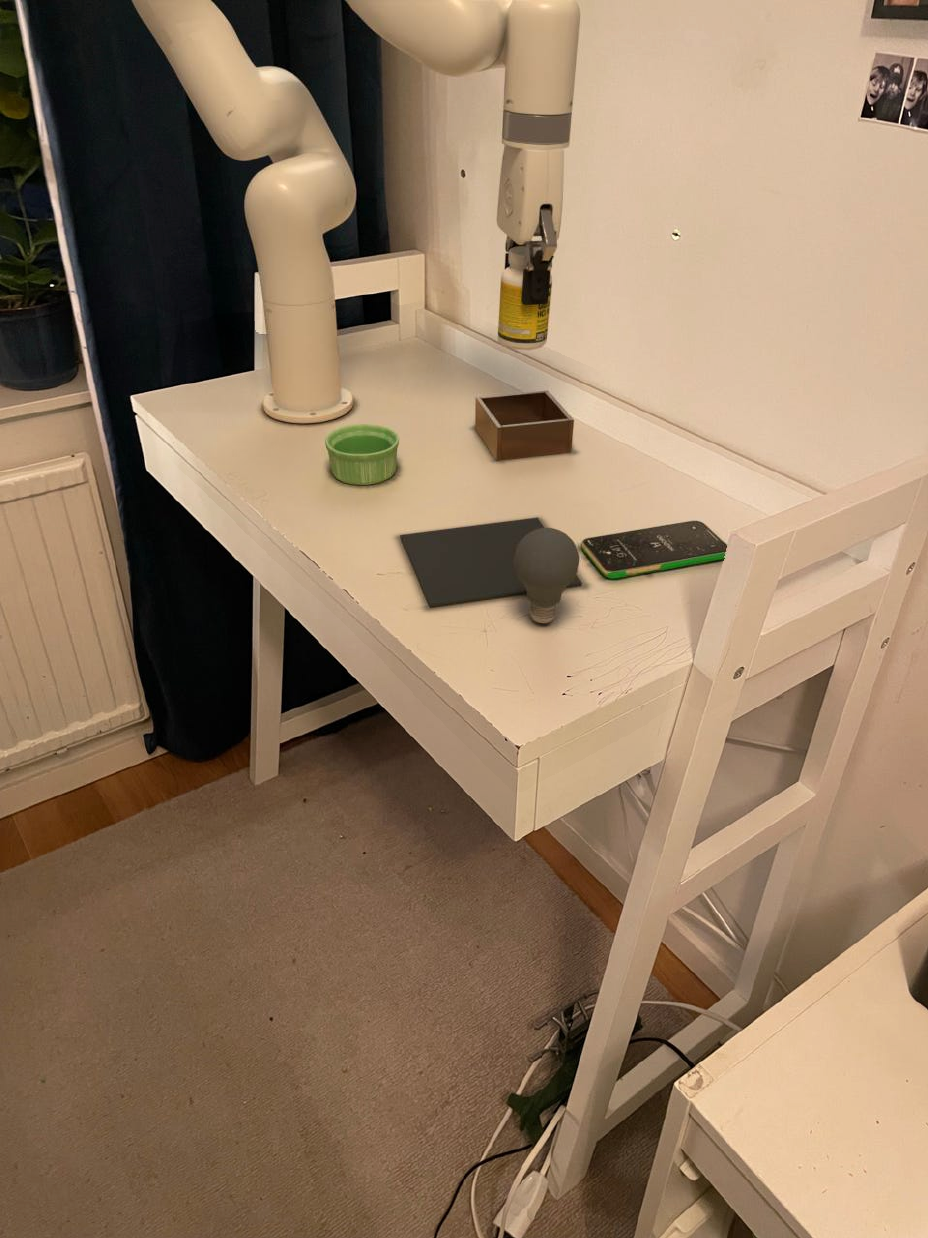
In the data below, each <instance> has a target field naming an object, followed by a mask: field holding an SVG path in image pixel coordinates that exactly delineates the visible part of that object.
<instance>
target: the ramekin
mask: <svg viewBox="0 0 928 1238" xmlns="http://www.w3.org/2000/svg"><path fill="white" fill-rule="evenodd" d="M324 444H325V448H326V450H327V454H328V459H329V465H330V469H331V473H332V475H333V476H334V477H335V478H336V480H338V481H340V482H342V483H346V484H350V485H358V486H367V485H369V486H370V485H375V484H379V483H382V482H385V481H387V480H388V479H390V478H391V477H393V475H394V474H395V473H396V470H397V461H398V448H399V445H400V437H399V434H398V433H397V432H395V430H393V429H391V428H389V427H386V426H383V425H379V424H373V423H372V424H371V423H357V424H350V425H345V426H342V427H338V428H336V429H334V430H332V431H331V432H329V433H328V434H327V435H326V437H325V439H324Z"/></svg>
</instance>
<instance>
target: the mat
mask: <svg viewBox="0 0 928 1238" xmlns="http://www.w3.org/2000/svg"><path fill="white" fill-rule="evenodd" d="M540 528H545V525H544V524H543V523H542V521H541V520H540V518H539V517H530V518H523V519H515V520H508V521H507V520H506V521H499V522H492V523H484V524H483V523H482V524H475V525H469V526H468V525H467V526H459V527H451V528H443V529H437V530H428V531H420V532H414V533H413V532H411V533H404V534H400V535H399V537H400V540H401V543H402V545H403V548H404V550H405V552H406V554H407V557H408V559H409V561H410V564H411V567H412V569H413V571H414V574H415V576H416V578H417V581H418V583H419V585H420V588H421V590H422V593H423V595H424V597H425V600H426V602H427V605H428V607H429V609H432V608H438V607H444V606H450V605H451V606H452V605H457V604H459V605H460V604H465V603H472V602H479V601H484V600H486V601H487V600H492V599H499V598H507V597H513V596H520V595H527V590H526V588H525V586H524V584H523V583H522V582H521V580H520V579H519V578H518V576H517V573H516V570H515V566H514V555H515V552H516V549H517V546H518V544H519V542H520V541H521V540H522V539H523V538H524V537H525V536H526V535H527V534H528V533H530V532H532V531H534V530H536V529H540ZM582 585H583V582H582V581H581V579H580V578H579V576H578V575H577V574H576V576H575V578H574V579H573V580H572V581H571V582H570V584H569V585H568V586H567V587H566V588H565V589H570V588H575V587H581V586H582Z"/></svg>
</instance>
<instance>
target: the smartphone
mask: <svg viewBox="0 0 928 1238" xmlns="http://www.w3.org/2000/svg"><path fill="white" fill-rule="evenodd" d="M727 545H728V544H727V543H726V542H725V541H724V540H722V538H720V536H718V534H716V533H715V532H714V531H713V530H712V529H711V528H710V527H709V526H708V525H707V524H705V523H704V522H702V521H699V520H688V521H682V522H681V521H680V522H675V523H670V524H664V525H657V526H652V527H646V528H640V529H634V530H627V531H622V532H616V533H610V534H603V535H596V536H591V537H585V538H584V539H583V540H581V542H580V548H581V550H582V551H583V552H584V554H585V555H586V556H587V557H588V558H589V560H590V561H591V562H592V563H593V564H594V566H595V567H596V568H597V569H598V571H599V572H600V573H601V575H603V576H604V577H605V578H608V579H613V580H614V579H620V578H627V577H633V576H638V575H642V574H648V573H654V572H659V571H665V570H672V569H676V568H682V567H687V566H692V565H699V564H703V563H708V562H713V561H719V560H725V559H724V556H725V552H726V548H727Z"/></svg>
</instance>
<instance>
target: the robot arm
mask: <svg viewBox="0 0 928 1238" xmlns="http://www.w3.org/2000/svg"><path fill="white" fill-rule="evenodd" d="M344 1H345V2H346V4H347V5H348V6H349V7H350V9H351V10H352V11H353V12H354V13H355V14H356V15H357V16H358V17H359V18H360V19H361V20H362V21H363V22H364V23H365V24H366V25H367V26H368V27H369V28H370V29H371V30H372V31H373V32H375V33H376V34H377V35H378V36H380V37H381V38H382V39H383V40H385V41H386V42H387V43H389V44H390V45H392V46H394V47H395V48H397V49H398V50H399V51H401V52H403V53H404V54H406V55H407V56H409V57H410V58H412V59H413V60H415V61H416V62H418V63H420V64H422V65H423V66H424V67H426V68H428V69H429V70H431V71H433V72H436V73H437V74H440V75H443V76H447V77H452V78H457V77H458V78H459V77H464V76H468V75H472V74H475V73H479V72H484V71H488V70H494V69H503V68H504V83H503V84H504V85H503V107H502V108H503V110H502V131H501V144H502V145H504V148H503V152H502V158H501V166H500V176H499V186H498V196H497V207H496V225H497V227H498V229H500V230H501V232H503V233H504V234H505V235H506V240H505V243H504V244H505V246H504V249H505V254H504V256H505V257H504V270H505V269H506V268H508V267H510V264H509V262H508V256H509V250H510V249H511V248H514V247H519V246H525V248H526V266H527V269H523V282H522V297H521V302H522V303H523V304H524V305H538V304H546V303H548V298H549V286H550V274H552V272H551V271H552V269H553V259H554V257H555V256H554V255H555V253H556V251H557V249H558V242H557V241H558V240H559V238H560V233H561V227H562V226H561V225H562V216H563V200H564V176H565V175H564V174H565V173H564V169H565V168H564V166H565V164H564V163H565V162H564V161H565V160H564V158H565V157H564V153H565V152H564V151H565V150H564V149H567V148H568V147H570V144H571V143H570V141H571V131H572V130H571V129H572V119H573V104H574V94H575V83H576V74H577V73H576V72H577V60H578V50H579V49H578V47H579V37H580V36H579V35H580V28H581V27H580V25H581V10H580V6H579V4H578V1H576V0H344ZM131 3H132V4H133V6H134V8H135V9H136V11H137V13H138V15H139V17H140V18H141V20H142V21H143V23H144V24H145V26H146V28H147V29H148V31H149V32H150V34H151V35H152V37H153V38H154V40H155V41H156V43H157V44H158V46H159V47H160V49H161V50H162V53H163V54H164V55H165V57H166V59H167V61H168V63H169V64H170V65H171V68H173V72H174V73H175V75H176V78H177V79H178V80H179V83H180V84H181V86H182V87H183V89H184V91H185V93H186V94H187V96H188V98H189V100H190V101H191V103H192V105H193V107H194V108H195V110H196V112H197V114H198V116H199V117H200V119H201V121H202V122H203V124H204V126H205V127H206V129H207V131H208V133H209V135H210V137H211V138H212V140H213V141H214V143H215V144H216V145H217V147H218V148H219V149H220V150H221V151H222V153H223V154H224V155H226V156H227V157H228V158H231V159H233V160H235V161H236V160H237V161H242V162H243V161H252V160H257V159H260V158H264V157H266V156H268V157H269V158H270V160H271V162H272V163H271V164H269V165H268V166H266V167H264V168H263V169H261V170H260V171H258V172H257V173H256V174H255V175H254V176H253V178H252V179H251V181H250V182H249V184H248V186H247V189H246V191H245V195H244V204H243V205H244V207H243V208H244V217H245V222H246V225H247V228H248V232H249V235H250V238H251V242H252V245H253V250H254V254H255V259H256V264H257V270H258V277H259V285H260V294H261V299H262V308H263V309H262V310H263V318H264V326H265V334H266V342H267V343H266V344H267V353H268V362H269V368H270V369H269V371H270V379H271V388H272V390H271V391H270V392H268V393H267V394H266V395H265V396H264V397H263V399H262V407H263V411H264V412H265V414H266V415H268V416H269V417H270V418H272V419H275V420H277V421H281V422H284V423H290V424H315V423H317V424H318V423H323V422H327V421H332V420H335V419H338V418H340V417H342V416H344V415H346V414H348V413H349V411H351V409H352V408H353V405H354V396H353V394H352V393H351V392H350V390H348V389H346V388H345V387H343V386H342V382H341V368H340V354H339V353H340V351H339V340H338V339H339V337H338V324H337V311H336V309H337V308H336V298H335V297H336V295H335V284H334V274H333V270H332V269H333V268H332V265H331V261H330V257H329V254H328V251H327V249H326V246H325V243H324V237H323V235H324V234H325V233H327V232H329V231H330V230H332V229H335V228H337V227H339V226H340V225H341V224H343V223H345V221H347V220H348V219H349V217H350V216H351V214H352V213H353V211H354V209H355V206H356V201H357V186H356V181H355V178H354V175H353V173H352V170H351V168H350V165H349V163H348V161H347V159H346V157H345V155H344V153H343V152H342V150H341V147H340V146H339V144H338V142H337V140H336V138H335V136H334V135H333V132H332V131H331V129H330V127H329V125H328V123H327V121H326V119H325V117H324V116H323V114H322V111H321V110H320V108H319V106H318V105H317V103H316V101H315V99H314V97H313V96H312V94H311V92H310V90H309V89H308V88H307V87H306V85H305V84H304V83H303V82H302V81H301V80H300V79H299V78H298V77H297V76H295V75H294V74H293V73H292V72H290V71H288V70H287V69H285V68H282V67H278V66H272V65H268V66H267V65H265V66H256V65H255V64H254V62H252V60H251V58H250V57H249V55H248V53H247V52H246V50H245V48H244V46H243V45H242V43H241V42H240V39H239V38H238V36H237V34H236V32H235V30H234V27H233V26H232V24H231V23H230V21H229V20H228V19H227V17H226V15H225V14H224V13H223V12H222V10H221V9H220V8H219V7H218V6H217V5H216V4H215V2H213V1H212V0H131ZM534 237H541V240H532V239H533V238H534ZM533 248H541V250H537V252H536V254H535V256H533Z"/></svg>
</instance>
